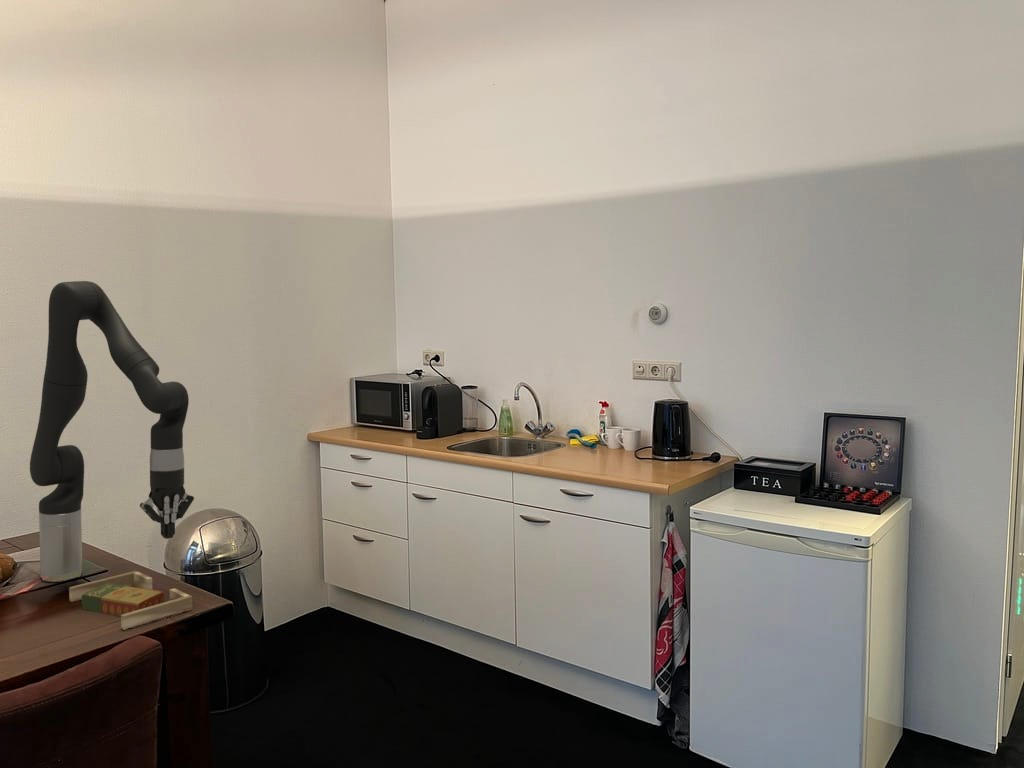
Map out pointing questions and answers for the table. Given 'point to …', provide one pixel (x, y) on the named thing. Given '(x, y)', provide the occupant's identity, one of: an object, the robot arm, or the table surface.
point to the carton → (120, 599)
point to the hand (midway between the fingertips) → (167, 537)
